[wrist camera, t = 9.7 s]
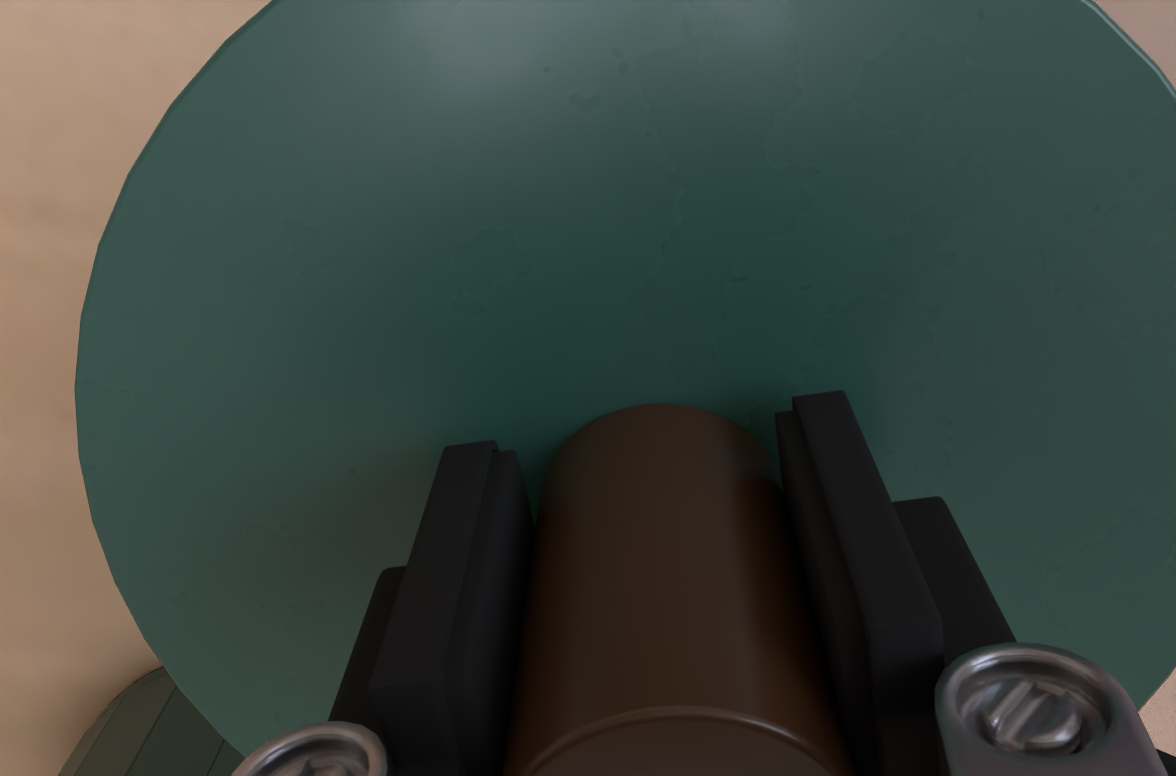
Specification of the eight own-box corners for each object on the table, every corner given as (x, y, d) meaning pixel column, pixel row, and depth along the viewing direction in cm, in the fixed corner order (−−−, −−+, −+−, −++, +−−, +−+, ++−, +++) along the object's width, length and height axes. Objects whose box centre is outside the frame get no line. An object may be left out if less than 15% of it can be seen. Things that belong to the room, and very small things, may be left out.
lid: (1274, -270, 10) (2077, -456, 4) (1183, 794, 15) (1487, 1290, 10) (-70, -6, 11) (-724, 104, 6) (298, 883, 17) (144, 1361, 11)
